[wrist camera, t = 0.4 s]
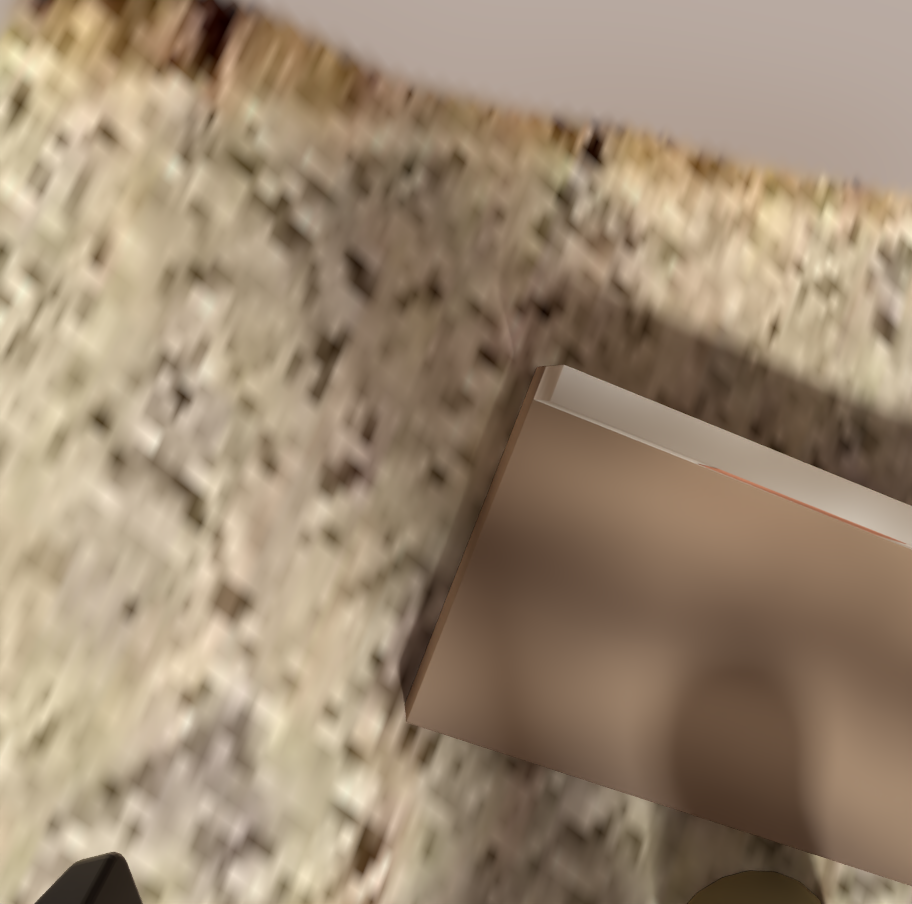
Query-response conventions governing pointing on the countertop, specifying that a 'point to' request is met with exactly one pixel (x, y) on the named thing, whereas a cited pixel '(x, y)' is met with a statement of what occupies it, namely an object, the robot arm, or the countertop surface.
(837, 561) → the shelf board
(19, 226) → the countertop surface
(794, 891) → the cork
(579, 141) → the countertop surface
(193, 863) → the countertop surface
